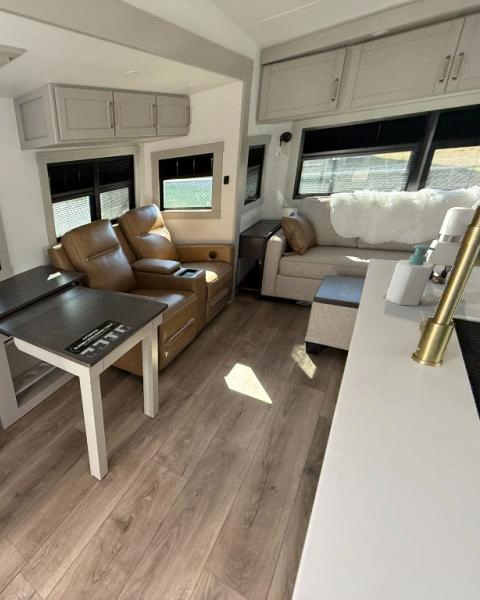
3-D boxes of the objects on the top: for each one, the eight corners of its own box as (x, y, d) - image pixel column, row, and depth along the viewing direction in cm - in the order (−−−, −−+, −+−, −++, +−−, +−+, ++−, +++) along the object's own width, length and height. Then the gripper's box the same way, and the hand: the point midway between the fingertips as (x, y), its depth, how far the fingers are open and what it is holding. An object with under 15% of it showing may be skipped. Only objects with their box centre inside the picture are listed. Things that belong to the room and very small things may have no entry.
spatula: (418, 272, 148) (421, 266, 147) (437, 274, 145) (439, 267, 144) (428, 284, 135) (431, 278, 134) (449, 286, 132) (452, 280, 131)
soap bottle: (415, 308, 118) (437, 251, 109) (383, 301, 125) (401, 247, 116) (421, 300, 123) (442, 245, 115) (389, 294, 130) (407, 241, 122)
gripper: (476, 237, 130) (459, 279, 137) (420, 235, 139) (407, 274, 146) (484, 241, 124) (465, 285, 132) (425, 239, 133) (410, 280, 140)
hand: (434, 279), depth 139 cm, fingers closed on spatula, 3 cm apart
